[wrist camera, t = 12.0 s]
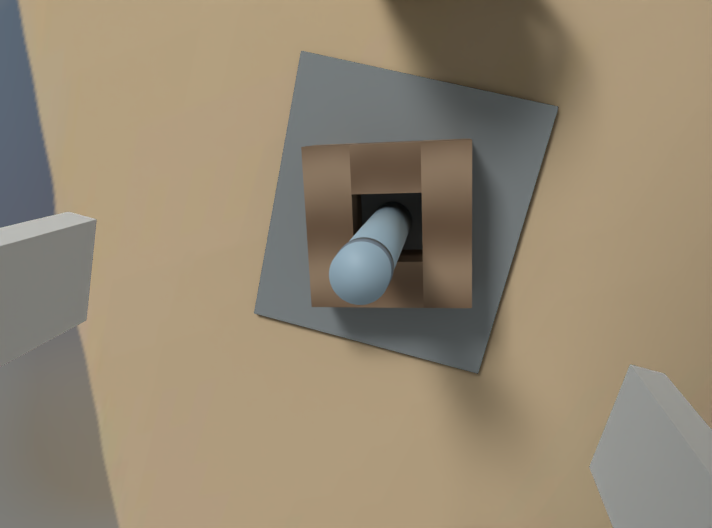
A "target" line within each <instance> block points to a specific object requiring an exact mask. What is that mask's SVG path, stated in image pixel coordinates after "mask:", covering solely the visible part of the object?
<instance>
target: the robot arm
mask: <svg viewBox="0 0 712 528" xmlns="http://www.w3.org/2000/svg"><path fill="white" fill-rule="evenodd" d="M96 220H97V219H94V218H90V217H86V216H83V215H79V214H75V213H72V212H65V213H61V214H57V215H52V216H48V217H44V218H40V219H36V220H32V221H27V222H23V223H19V224H15V225H10V226H6V227H2V228H0V367H2V366H3V365H5V364H7V363H9V362H11V361H13V360H14V359H16V358H18V357H20V356H22V355H24V354H25V353H27V352H29V351H31V350H33V349H35V348H36V347H38V346H40V345H42V344H44V343H46V342H47V341H49V340H51V339H53V338H55V337H57V336H58V335H60V334H62V333H64V332H66V331H68V330H69V329H71V328H73V327H75V326H77V325H79V324H80V323H82V322H84V321H86V320H87V310H88V300H89V290H90V280H91V270H92V260H93V250H94V240H95V230H96ZM589 467H590V470H591V472H592V475H593V478H594V480H595V483H596V485H597V488H598V490H599V493H600V495H601V498H602V500H603V503H604V505H605V508H606V511H607V513H608V516H609V518H610V521H611V523H612V526H613V528H712V430H711V428H710V427H709V426H708V425H707V424H706V423H705V421H704V420H703V419H702V418H701V417H700V415H699V414H698V413H697V412H696V411H695V409H694V408H693V407H692V406H691V405H690V403H689V402H688V401H687V400H686V399H685V397H684V396H683V395H682V394H681V393H680V391H679V390H678V389H677V388H676V387H675V385H674V384H673V383H672V382H671V381H670V379H669V378H668V377H667V376H666V375H665V374H664V373H660V372H657V371H653V370H649V369H646V368H642V367H638V366H635V365H631V364H630V366H629V369H628V371H627V374H626V376H625V379H624V381H623V384H622V386H621V389H620V391H619V394H618V396H617V399H616V401H615V404H614V406H613V409H612V411H611V414H610V416H609V419H608V421H607V424H606V426H605V429H604V431H603V434H602V436H601V439H600V441H599V444H598V446H597V449H596V451H595V454H594V456H593V459H592V461H591V464H590V466H589Z"/></svg>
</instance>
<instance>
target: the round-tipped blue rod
mask: <svg viewBox="0 0 712 528" xmlns="http://www.w3.org/2000/svg"><path fill="white" fill-rule="evenodd" d="M411 225H412V217H411V214H410V212H409V210H408V209H407V208H406V207H405V206H404V205H403V204H401V203H398V202H388V203H385V204H383V205H381V206H380V207H379V208H378V209H377V210H376V212H375V213H374V214H373V215H372V216H371V217H370V218H369V219H368V220H367V222H366V223H365V224H364V225H363V226H362V227H361V228H360V229H359V231H358V232H357V233H356V234H355V235H354V236H353V237H352V238H351V239H350V241H349V242H347V243H346V244H345V245H344V246H343V247H342V248H341V249H340V250H339V251H338V253H337V254H336V256H335V258H334V259H333V261H332V263H331V265H330V269H329V280H330V284H331V286H332V288H333V290H334V292H335V293H336V294H337V295H338V296H339V297H340V298H341V299H342V300H344V301H346V302H348V303H351V304H355V305H366V304H370V303H372V302H374V301H376V300H378V299H379V298H380V297H381V296H382V295H383V294H384V292H385V291H386V288H387V287H388V285H389V284H390V281H391V279H392V276H393V273H394V269H395V266H396V264H397V261H398V259H399V256H400V254H401V251H402V249H403V246H404V244H405V241H406V238H407V236H408V233H409V231H410V228H411Z"/></svg>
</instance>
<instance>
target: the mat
mask: <svg viewBox="0 0 712 528" xmlns="http://www.w3.org/2000/svg"><path fill="white" fill-rule="evenodd" d="M557 110H558V106H553V105H549V104H544V103H539V102H535V101H530V100H526V99H521V98H516V97H512V96H507V95H503V94H498V93H493V92H489V91H484V90H480V89H475V88H470V87H466V86H461V85H457V84H452V83H447V82H443V81H438V80H434V79H429V78H424V77H420V76H415V75H411V74H406V73H401V72H397V71H392V70H388V69H383V68H378V67H374V66H369V65H365V64H360V63H355V62H351V61H346V60H342V59H337V58H332V57H328V56H323V55H319V54H314V53H309V52H305V51H301V54H300V60H299V65H298V71H297V76H296V82H295V88H294V93H293V99H292V104H291V110H290V115H289V121H288V127H287V132H286V138H285V143H284V149H283V155H282V160H281V166H280V171H279V177H278V182H277V188H276V194H275V199H274V205H273V210H272V216H271V221H270V227H269V233H268V238H267V244H266V249H265V255H264V260H263V266H262V272H261V277H260V283H259V288H258V294H257V300H256V305H255V311H254V313H255V314H259V315H262V316H266V317H270V318H273V319H277V320H281V321H285V322H288V323H292V324H296V325H299V326H303V327H307V328H311V329H314V330H318V331H322V332H325V333H329V334H333V335H337V336H340V337H344V338H348V339H351V340H355V341H359V342H363V343H366V344H370V345H374V346H377V347H381V348H385V349H388V350H392V351H396V352H400V353H403V354H407V355H411V356H414V357H418V358H422V359H426V360H429V361H433V362H437V363H440V364H444V365H448V366H452V367H455V368H459V369H463V370H466V371H470V372H474V373H477V374H478V372H479V369H480V365H481V362H482V359H483V356H484V352H485V349H486V346H487V342H488V339H489V336H490V332H491V329H492V326H493V322H494V319H495V316H496V312H497V309H498V306H499V303H500V299H501V296H502V293H503V289H504V286H505V283H506V279H507V276H508V273H509V269H510V266H511V263H512V259H513V256H514V253H515V250H516V246H517V243H518V240H519V236H520V233H521V230H522V226H523V223H524V220H525V216H526V213H527V210H528V207H529V203H530V200H531V197H532V193H533V190H534V187H535V183H536V180H537V177H538V173H539V170H540V167H541V163H542V160H543V157H544V154H545V150H546V147H547V144H548V140H549V137H550V134H551V130H552V127H553V124H554V120H555V117H556V114H557ZM446 139H472V308H367V307H312V305H311V290H310V274H309V259H308V244H307V229H306V213H305V198H304V183H303V167H302V152H301V147H305V146H312V145H327V144H351V143H375V142H399V141H422V140H446ZM388 202H398V203H401V204H403V205H404V206H405V207H406V208H407V209H408V210H409V212H410V214H411V217H412V225H411V228H410V231H409V233H408V236H407V238H406V241H405V244H404V246H403V249H402V250H414V249H423V244H422V193H388V194H361V205H362V226H363V225H364V224H365V223H366V222H367V220H368V219H369V218H370V217H371V216H372V215H373V214H374V213H375V212H376V210H377V209H378V208H379V207H380V206H381V205H383V204H385V203H388Z"/></svg>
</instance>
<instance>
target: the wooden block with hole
mask: <svg viewBox="0 0 712 528" xmlns="http://www.w3.org/2000/svg"><path fill="white" fill-rule="evenodd" d="M301 152H302V167H303V183H304V198H305V213H306V229H307V244H308V259H309V274H310V290H311V305H312V307H367V308H472V139H446V140H422V141H399V142H375V143H351V144H327V145H312V146H305V147H301ZM388 193H422V244H423V249H414V250H402V251H401V254H400V256H399V259H398V261H397V264H396V266H395V269H394V273H393V276H392V279H391V281H390V284H389V285H388V287H387V288H386V291H385V292H384V294H383V295H382V296H381V297H380V298H379V299H378V300H376V301H374V302H372V303H370V304H366V305H355V304H351V303H348V302H346V301H344V300H342V299H341V298H340V297H339V296H338V295H337V294H336V293H335V292H334V290H333V288H332V286H331V284H330V280H329V269H330V265H331V263H332V261H333V259H334V258H335V256H336V254H337V253H338V251H339V250H340V249H341V248H342V247H343V246H344V245H345V244H346V243H347V242H349V241H350V239H351V238H352V237H353V236H354V235H355V234H356V233H357V232H358V231H359V229H360V228H361V227H362V205H361V194H388Z"/></svg>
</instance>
